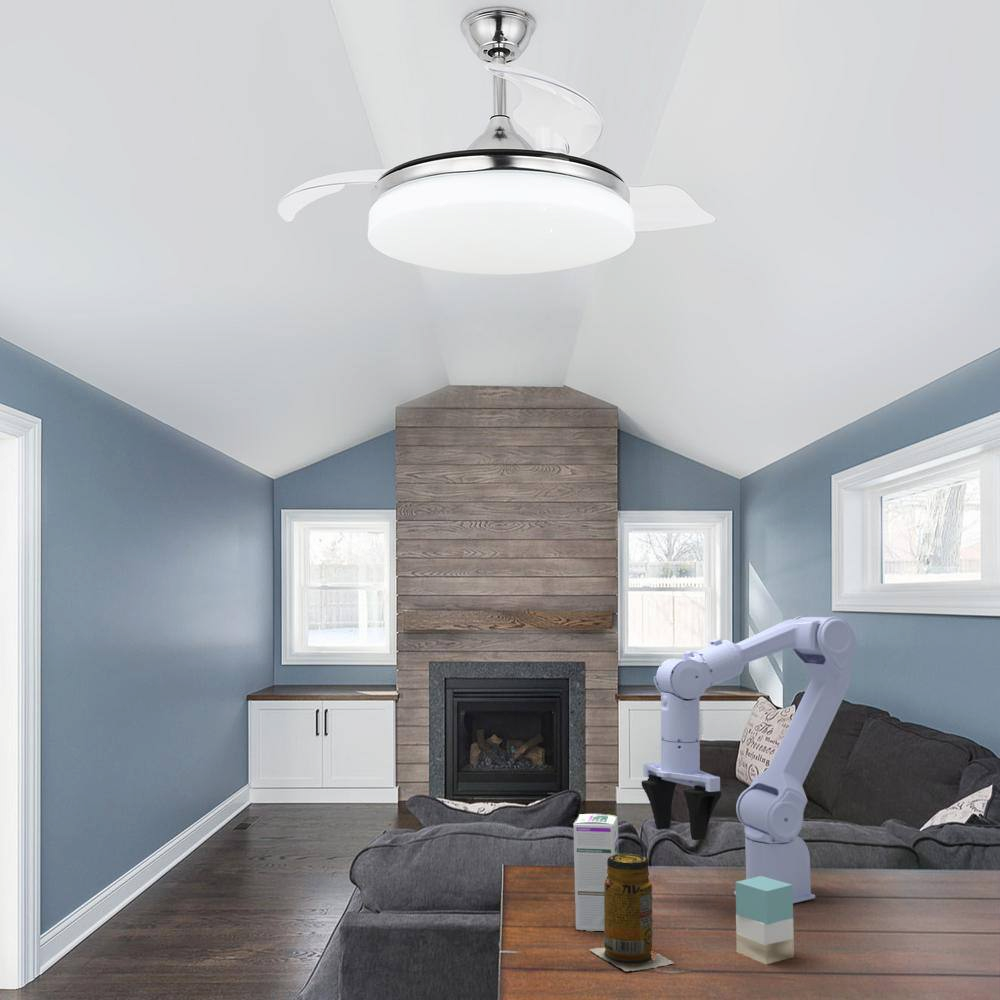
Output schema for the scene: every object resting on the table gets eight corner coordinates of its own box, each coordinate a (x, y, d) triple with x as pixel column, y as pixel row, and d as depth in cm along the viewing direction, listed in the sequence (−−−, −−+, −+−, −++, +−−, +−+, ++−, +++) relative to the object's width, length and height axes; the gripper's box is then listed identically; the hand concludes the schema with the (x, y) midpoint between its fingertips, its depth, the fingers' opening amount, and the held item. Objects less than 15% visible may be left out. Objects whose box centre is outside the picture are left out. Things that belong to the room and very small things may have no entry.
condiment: (636, 943, 129) (635, 849, 130) (675, 964, 121) (673, 864, 122) (588, 951, 125) (588, 855, 127) (625, 974, 118) (624, 871, 119)
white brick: (765, 927, 128) (764, 907, 128) (793, 938, 124) (793, 918, 124) (736, 933, 126) (735, 913, 126) (764, 945, 121) (763, 924, 122)
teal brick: (761, 907, 128) (761, 875, 129) (793, 917, 124) (792, 884, 125) (736, 914, 126) (735, 881, 126) (767, 924, 121) (766, 891, 122)
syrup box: (617, 933, 132) (616, 823, 134) (573, 930, 133) (573, 821, 135) (620, 920, 138) (619, 814, 139) (578, 917, 139) (578, 812, 140)
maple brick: (764, 947, 128) (763, 927, 128) (794, 958, 124) (793, 938, 124) (736, 954, 125) (736, 933, 126) (766, 966, 121) (765, 945, 121)
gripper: (628, 735, 150) (627, 826, 149) (694, 748, 138) (694, 847, 137) (663, 733, 154) (662, 821, 153) (730, 745, 142) (731, 841, 140)
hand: (680, 833), depth 145 cm, fingers open, 7 cm apart
